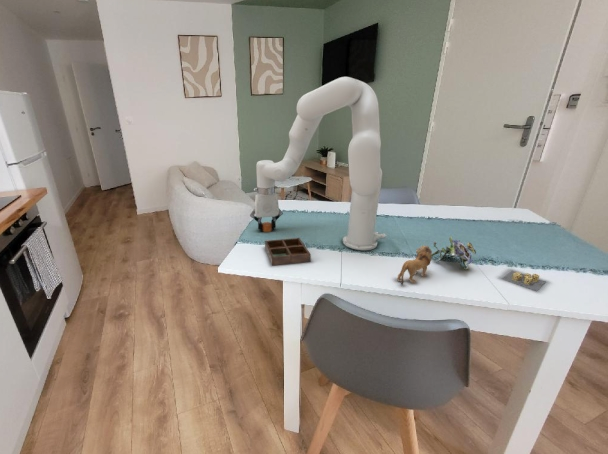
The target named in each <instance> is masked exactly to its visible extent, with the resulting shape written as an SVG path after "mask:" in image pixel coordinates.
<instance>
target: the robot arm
mask: <svg viewBox="0 0 608 454" xmlns="http://www.w3.org/2000/svg"><path fill="white" fill-rule="evenodd" d="M344 107H348V108H350V111H351V127H352V129H351V130H352V138H351V140H350V142H349V144H348V148H347V160H348V176H349V177H348V179H349V187H350V188H351V197H350V206H349V214H348V226H347V235H345V236H343V238H342V243H343V245H344V246H346V247H347V248H349V249H352V250H356V251H370V250H371V251H372V250H375V249H376V248H377V247H378V240H380V239H381V240H382V239H386V238H387V234H386V233H380V232H379V231H375V230H376V223H377V215H378V209H379V201H380V195H381V194H380V193H381V188H382V182H383V170H382V167H381V147H382V139H381V133H380V132H381V127H380V110H379V109H380V107H379V100H378V97H377V94H376V92H375V91H374V89H373V88H372V87H371V86H370V85H369V84H367V83H366V82H365V81H362V80H359V79H357V78H353V77H351V76H341V77H338V78H335V79H334V80H331V81H329V82H327V83H325V84H324V85H322V86H319V87H317V88H316V89H313V90H311V91H309V92H306V93H305V94H303V95H302V96H301V97H300V98H299V99H298V100H297V103H296V113H297V115H296V117H295V119H294V121H293V123H292V126H291V127H290V130H289V131H288V138H289V145H288V147H287V150H286V152H285V154H284V156H283V158H282V160H280V161H277V162H274V161H273V160H271V159H262V160H259V161H257V162H256V165H255V168H256V169H255V170H256V171H255V172H256V187H254V188H253V192H256V193H255V196H254V208H253V210H252V211H251V212H250V214H249V217H250V218H252V219H253V220H254V221H256V223H257V229H258V230H259V231H260V232H263V231H262V223H263V222H262V219H263V218H271V221H270V223H271V224H272V231H275V229H276V222H277V221H278V219H279V218H280V217H281V216H282V215H284V212H283V211H282V210H281V208H280V207H279V206H280V205H279V198H278V193H277V192H276V182H285V181H287V180H288V179H290V178H291V177H293V175H295V174H296V173H297V171H298V169H299V167H300V165H301V163H302V161H303V159H304V157H305V155H306V153H307V150H308V148H309V146H310V143H311V141H312V139H313V136H314V135H315V133H316V131H317V129H318V128H319V125H320V123H321V121H322V119H323V117H324V116H326V115H328V114H330V113H332V112H335V111H337V110H339V109H342V108H344Z"/></svg>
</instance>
